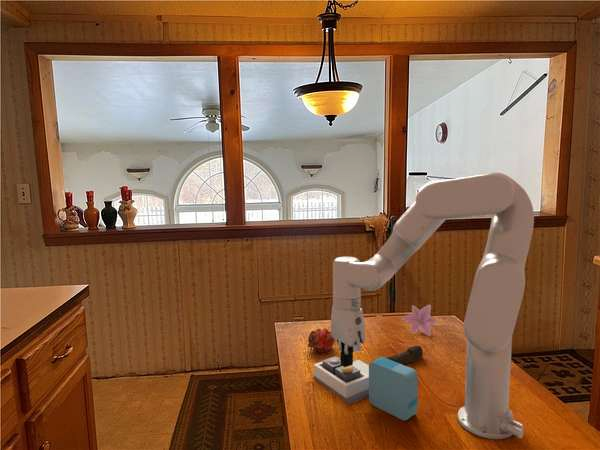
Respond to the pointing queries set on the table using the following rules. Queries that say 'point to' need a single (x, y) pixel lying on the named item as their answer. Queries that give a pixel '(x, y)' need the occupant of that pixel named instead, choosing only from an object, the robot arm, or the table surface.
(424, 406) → the table surface
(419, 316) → the lily
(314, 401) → the table surface
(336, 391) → the board
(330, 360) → the grey square block
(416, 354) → the hand tool
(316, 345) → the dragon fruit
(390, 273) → the robot arm
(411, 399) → the data package
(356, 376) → the tagged breaker
